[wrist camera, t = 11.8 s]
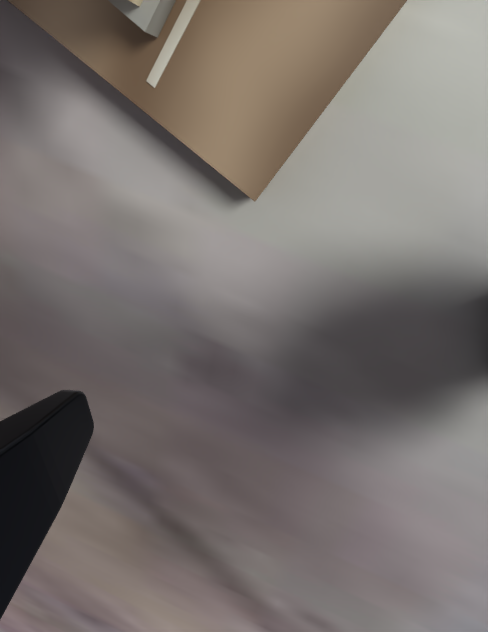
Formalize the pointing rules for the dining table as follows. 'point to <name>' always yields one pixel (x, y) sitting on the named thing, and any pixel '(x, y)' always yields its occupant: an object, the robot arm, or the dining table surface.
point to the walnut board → (225, 69)
